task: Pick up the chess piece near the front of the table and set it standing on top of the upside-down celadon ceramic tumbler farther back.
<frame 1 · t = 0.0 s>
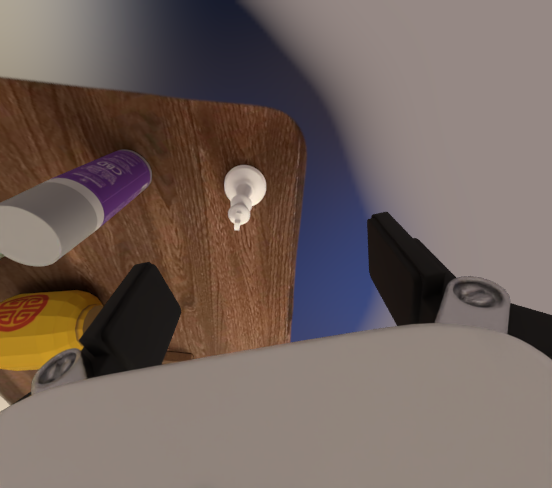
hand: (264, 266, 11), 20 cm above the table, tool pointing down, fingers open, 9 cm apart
lantern: (71, 301, 39), on the table
chess piece: (245, 185, 30), on the table
container: (131, 170, 29), on the table
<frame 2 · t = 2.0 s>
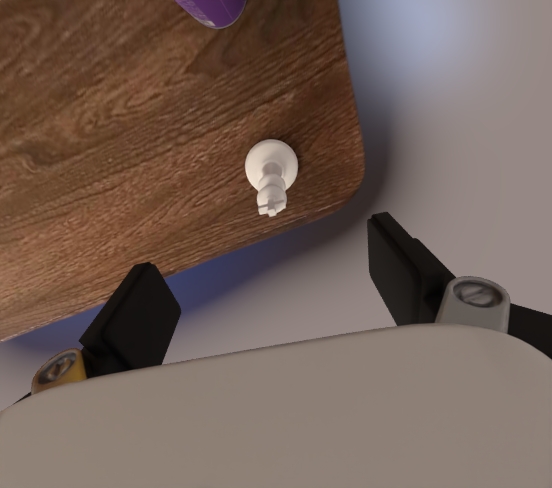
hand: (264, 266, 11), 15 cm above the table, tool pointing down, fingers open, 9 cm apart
chess piece: (271, 166, 24), on the table
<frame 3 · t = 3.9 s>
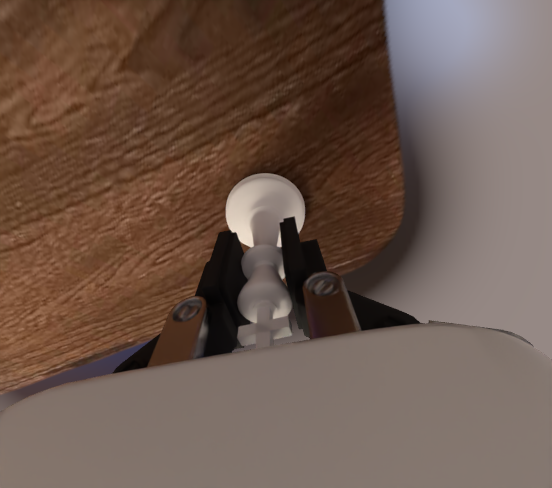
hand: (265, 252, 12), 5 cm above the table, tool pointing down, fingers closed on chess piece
chess piece: (265, 210, 16), on the table, touching gripper
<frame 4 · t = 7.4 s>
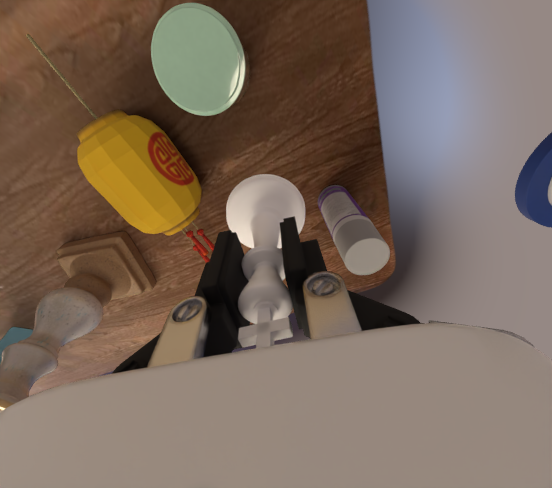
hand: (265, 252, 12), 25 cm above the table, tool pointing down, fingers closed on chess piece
lantern: (160, 165, 35), on the table
chess piece: (265, 211, 16), point 21 cm above the table, touching gripper
upturned tumbler: (215, 69, 29), on the table
candle holder: (113, 263, 43), on the table
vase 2: (35, 341, 52), on the table
container: (333, 199, 38), on the table
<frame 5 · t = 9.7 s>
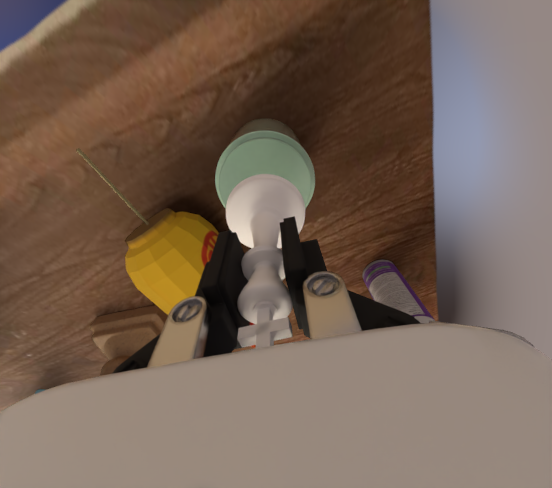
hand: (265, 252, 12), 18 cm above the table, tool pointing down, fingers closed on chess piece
lantern: (200, 246, 33), on the table
chess piece: (265, 211, 16), point 13 cm above the table, touching gripper
upturned tumbler: (265, 159, 27), on the table
candle holder: (145, 332, 41), on the table
container: (378, 271, 36), on the table
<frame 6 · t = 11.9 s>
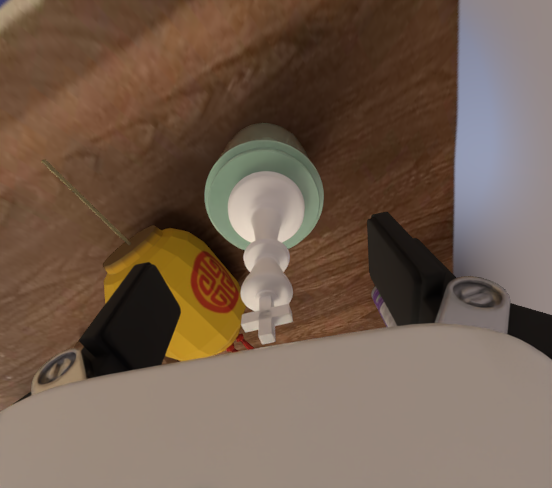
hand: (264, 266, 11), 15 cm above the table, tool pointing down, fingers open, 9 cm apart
lantern: (193, 263, 30), on the table
chess piece: (266, 207, 17), point 9 cm above the table, touching upturned tumbler
upturned tumbler: (265, 169, 24), on the table
container: (389, 290, 33), on the table
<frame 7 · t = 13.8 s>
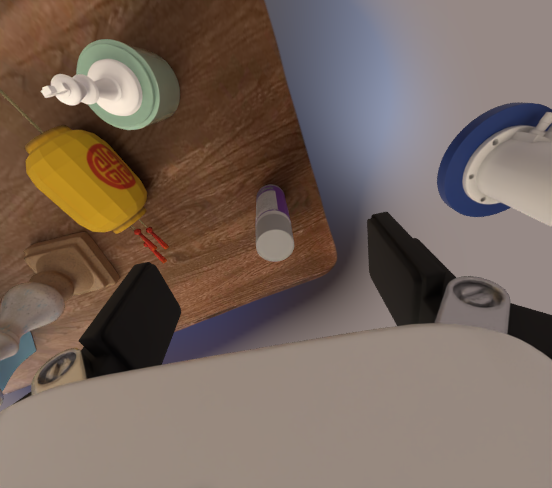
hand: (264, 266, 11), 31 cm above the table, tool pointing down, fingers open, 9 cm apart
lantern: (110, 172, 39), on the table
chess piece: (117, 88, 26), point 9 cm above the table, touching upturned tumbler
upturned tumbler: (148, 87, 33), on the table
candle holder: (78, 261, 47), on the table
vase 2: (13, 336, 56), on the table
container: (270, 197, 43), on the table
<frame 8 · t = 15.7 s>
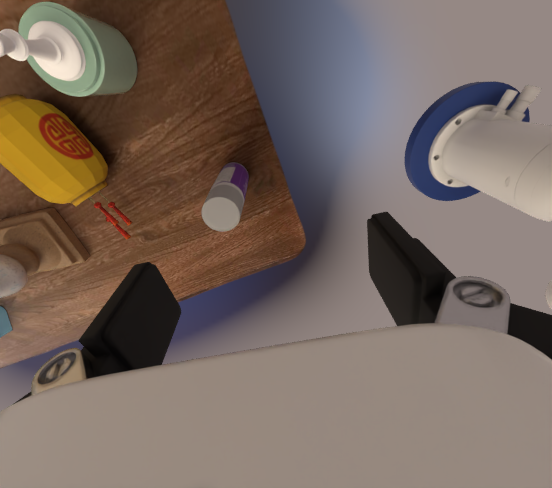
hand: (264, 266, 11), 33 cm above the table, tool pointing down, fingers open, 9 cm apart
lantern: (74, 146, 39), on the table
chess piece: (61, 52, 26), point 9 cm above the table, touching upturned tumbler
upturned tumbler: (105, 59, 34), on the table
candle holder: (48, 238, 48), on the table
container: (234, 176, 43), on the table
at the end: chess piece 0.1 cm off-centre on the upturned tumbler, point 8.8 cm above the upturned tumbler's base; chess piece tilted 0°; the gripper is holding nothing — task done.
